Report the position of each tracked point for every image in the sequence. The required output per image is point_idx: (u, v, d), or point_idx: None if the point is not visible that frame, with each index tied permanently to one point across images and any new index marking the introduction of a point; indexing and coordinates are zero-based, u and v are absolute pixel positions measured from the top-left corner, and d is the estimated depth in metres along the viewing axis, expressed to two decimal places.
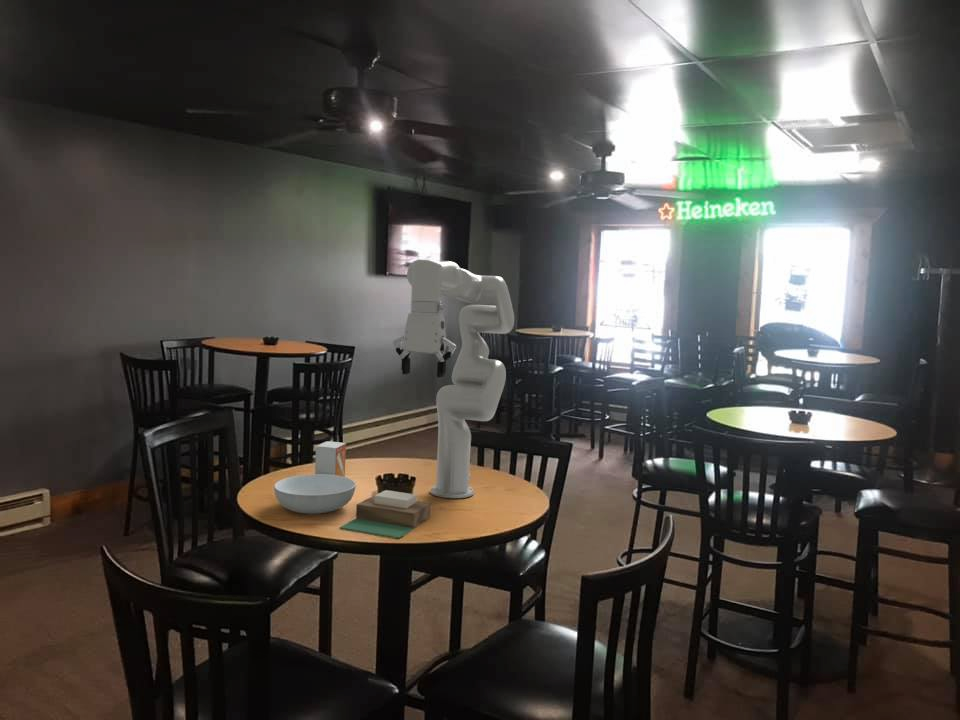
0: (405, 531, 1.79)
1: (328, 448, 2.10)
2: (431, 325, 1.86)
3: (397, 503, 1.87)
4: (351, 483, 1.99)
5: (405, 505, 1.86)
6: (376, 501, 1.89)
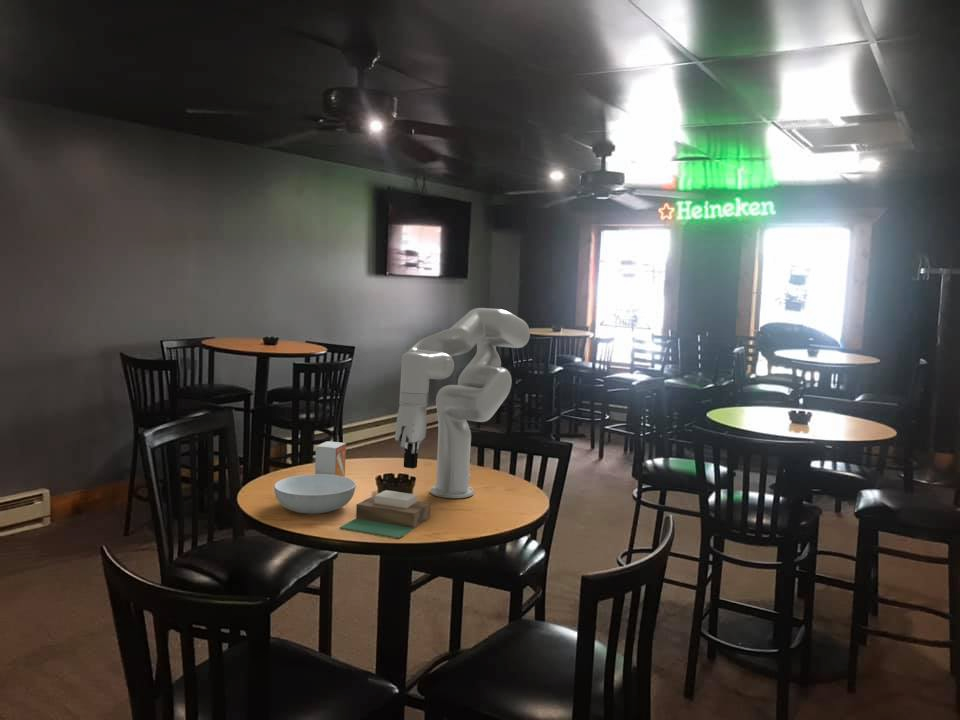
0: (405, 531, 1.79)
1: (328, 448, 2.10)
2: (425, 413, 1.98)
3: (397, 503, 1.87)
4: (351, 483, 1.99)
5: (405, 505, 1.86)
6: (376, 501, 1.89)
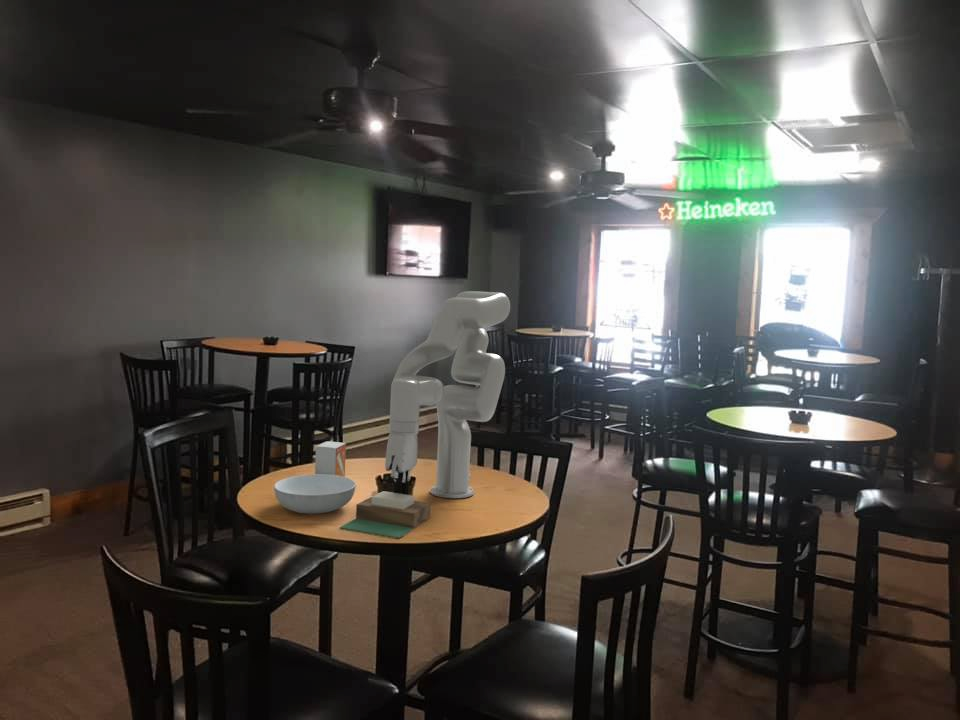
0: (405, 531, 1.79)
1: (328, 448, 2.10)
2: (416, 441, 1.94)
3: (395, 504, 1.86)
4: (351, 483, 1.99)
5: (402, 506, 1.85)
6: (373, 502, 1.88)
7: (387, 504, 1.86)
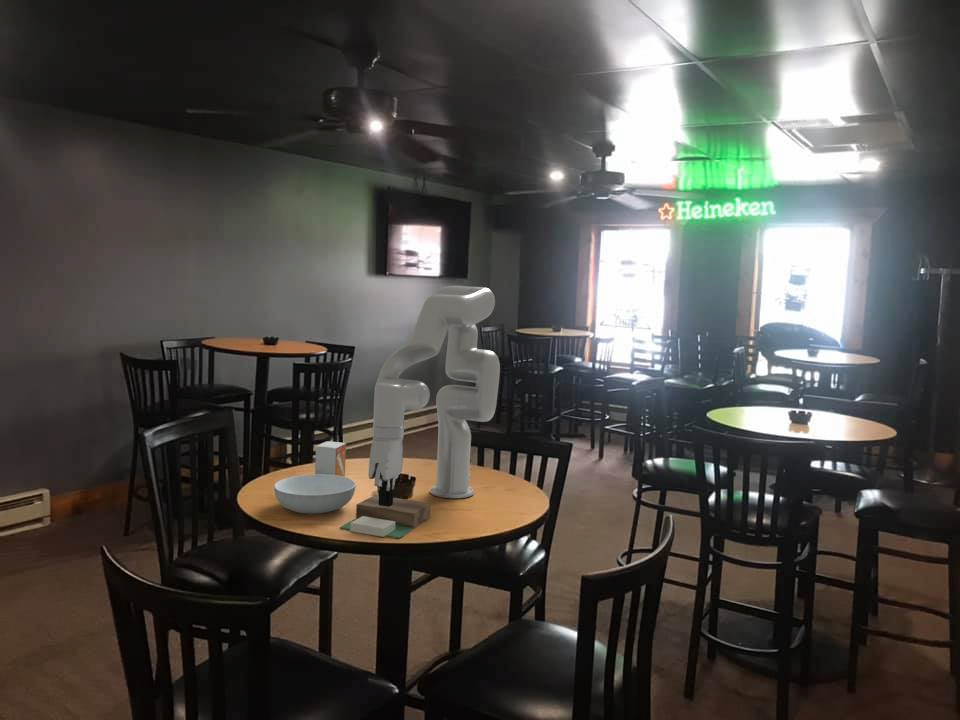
0: (405, 531, 1.79)
1: (328, 448, 2.10)
2: (401, 447, 1.86)
3: None
4: (351, 483, 1.99)
5: None
6: None
7: None
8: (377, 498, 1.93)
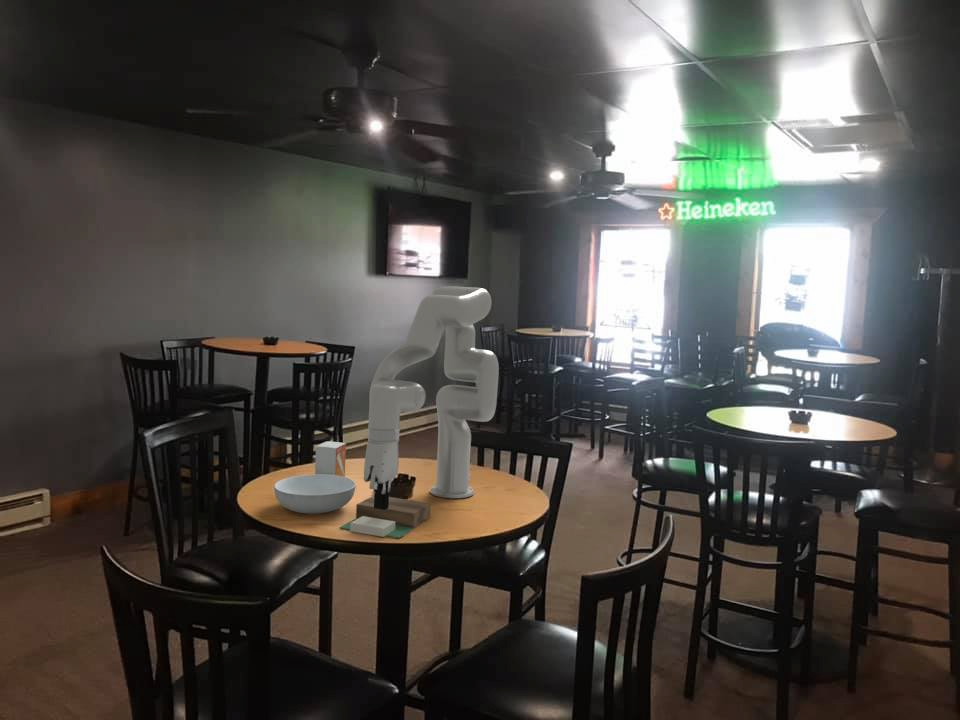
0: (405, 531, 1.79)
1: (328, 448, 2.10)
2: (396, 450, 1.83)
3: None
4: (351, 483, 1.99)
5: None
6: None
7: None
8: None
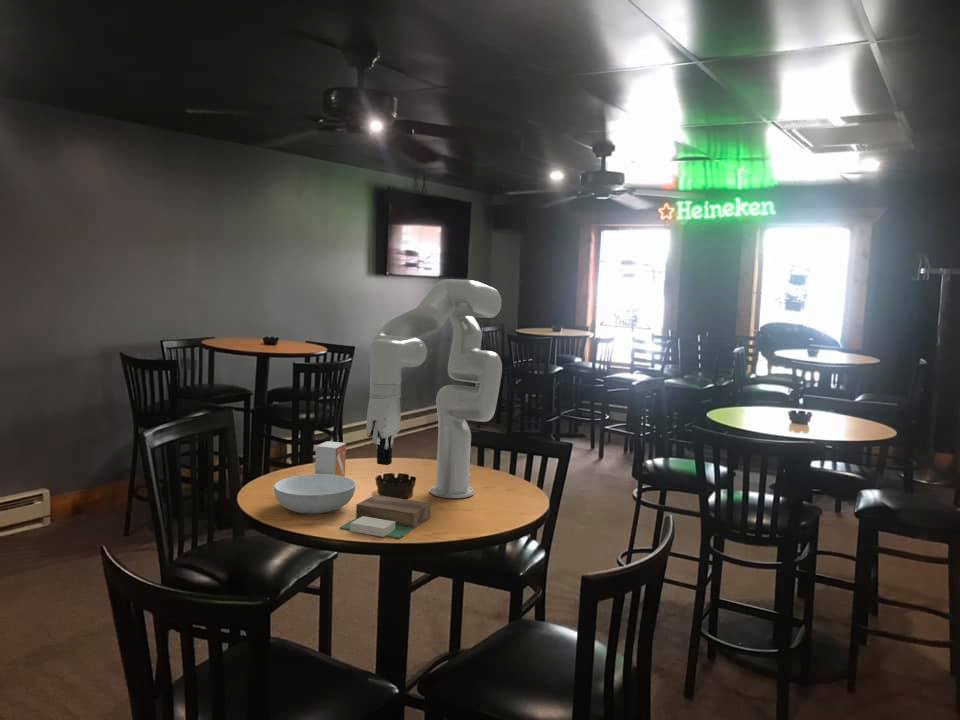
0: (405, 531, 1.79)
1: (328, 448, 2.10)
2: (398, 405, 1.82)
3: None
4: (351, 483, 1.99)
5: None
6: None
7: None
8: (377, 498, 1.93)
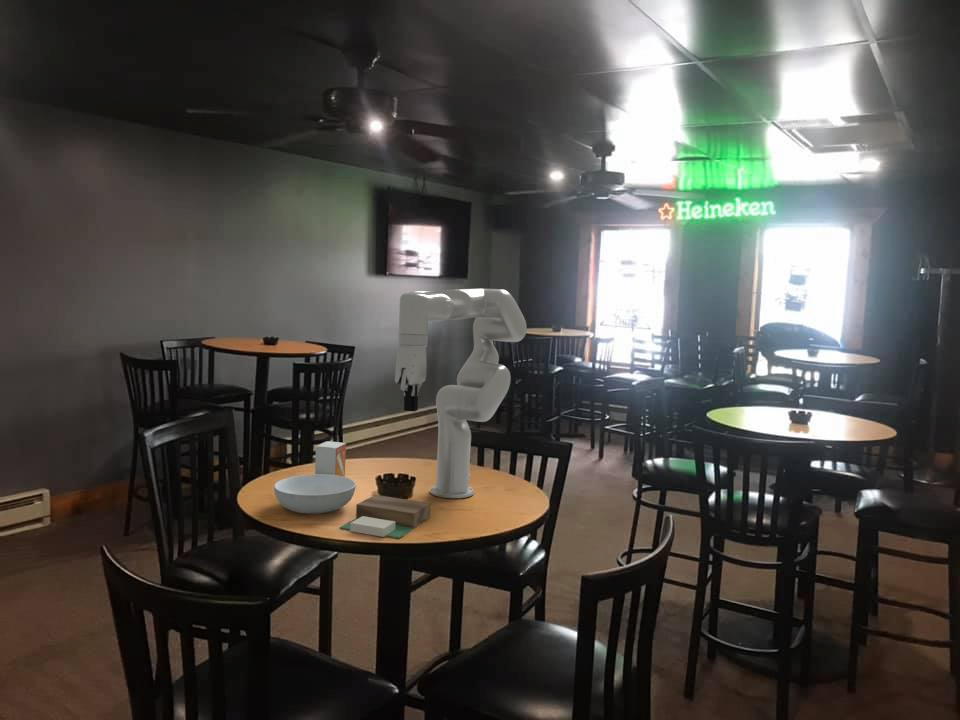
0: (405, 531, 1.79)
1: (328, 448, 2.10)
2: (425, 356, 1.95)
3: None
4: (351, 483, 1.99)
5: None
6: None
7: None
8: (377, 498, 1.93)
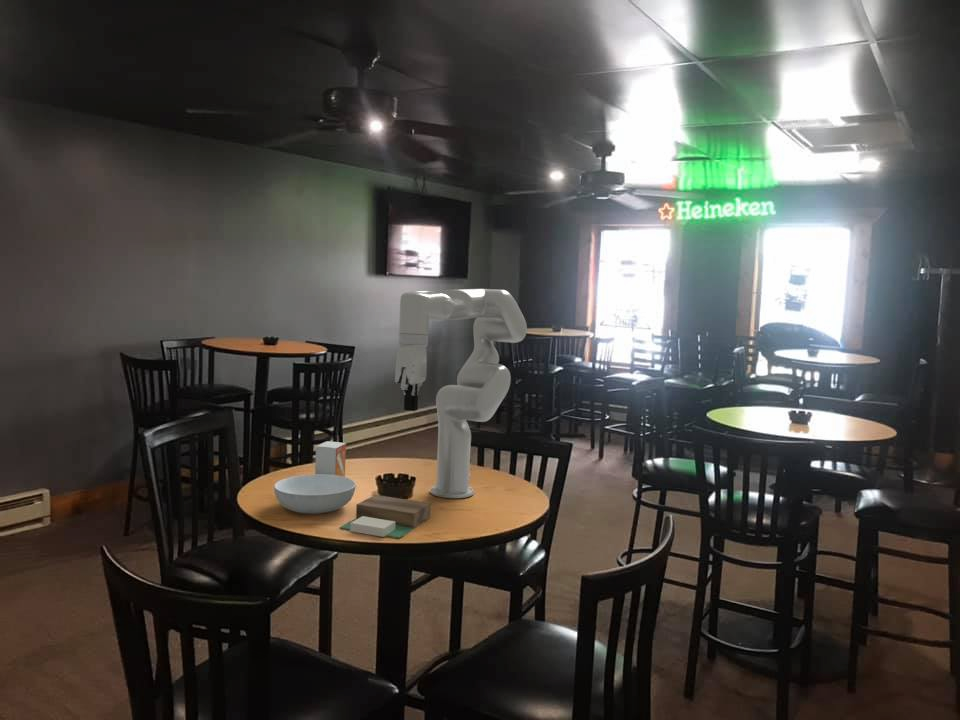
0: (405, 531, 1.79)
1: (328, 448, 2.10)
2: (425, 355, 1.95)
3: None
4: (351, 483, 1.99)
5: None
6: None
7: None
8: (377, 498, 1.93)
